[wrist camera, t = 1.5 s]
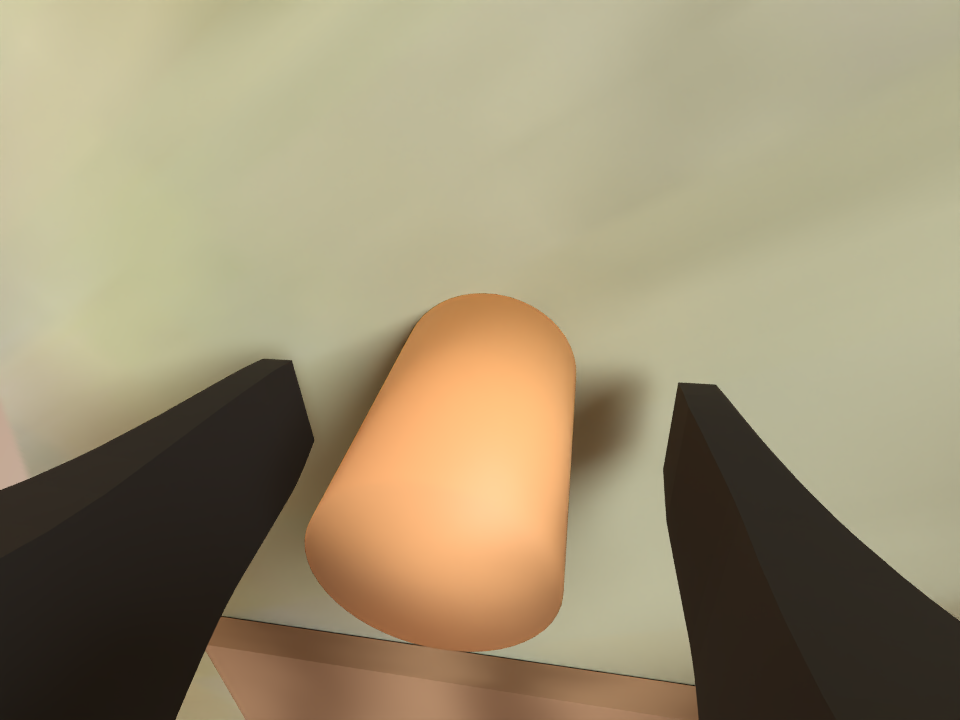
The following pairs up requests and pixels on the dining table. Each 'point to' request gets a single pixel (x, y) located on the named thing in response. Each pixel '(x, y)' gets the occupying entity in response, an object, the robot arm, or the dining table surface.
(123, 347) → the dining table surface
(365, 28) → the dining table surface
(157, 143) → the dining table surface
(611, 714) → the socket
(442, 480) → the peg
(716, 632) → the robot arm
